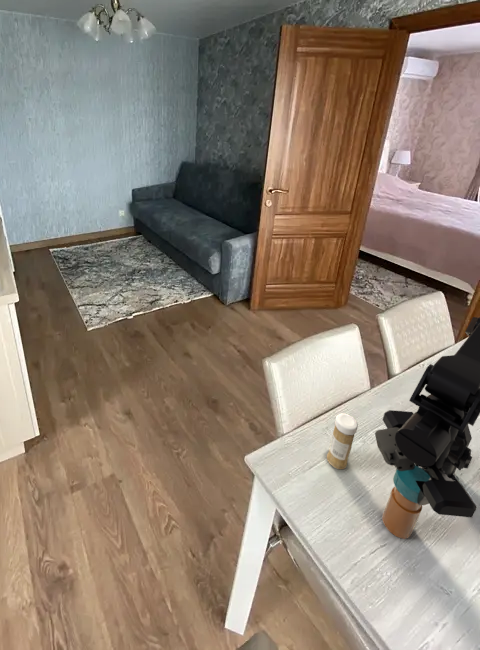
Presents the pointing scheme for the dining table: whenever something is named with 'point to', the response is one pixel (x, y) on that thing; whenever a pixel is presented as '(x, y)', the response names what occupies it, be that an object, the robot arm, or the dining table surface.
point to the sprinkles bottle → (342, 440)
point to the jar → (400, 514)
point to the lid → (410, 482)
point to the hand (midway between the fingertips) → (411, 486)
